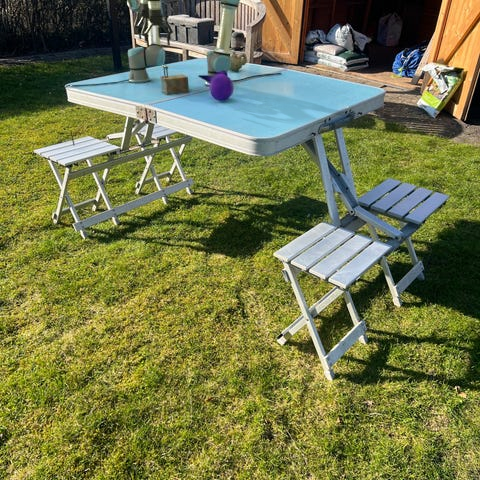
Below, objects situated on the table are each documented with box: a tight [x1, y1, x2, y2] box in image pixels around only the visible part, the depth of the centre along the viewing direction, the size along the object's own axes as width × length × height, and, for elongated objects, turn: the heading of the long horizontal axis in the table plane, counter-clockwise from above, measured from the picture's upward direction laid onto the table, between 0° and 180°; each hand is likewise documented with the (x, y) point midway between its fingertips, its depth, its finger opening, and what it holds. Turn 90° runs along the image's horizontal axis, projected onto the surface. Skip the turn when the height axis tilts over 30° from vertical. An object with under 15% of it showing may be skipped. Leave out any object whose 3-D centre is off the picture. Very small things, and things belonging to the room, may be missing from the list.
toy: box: [198, 70, 235, 102], centre depth 281 cm, size 16×18×27 cm
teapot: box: [228, 51, 248, 73], centre depth 364 cm, size 21×12×15 cm, turn 120°
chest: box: [160, 78, 190, 96], centre depth 303 cm, size 15×11×9 cm
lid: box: [159, 64, 189, 81], centre depth 298 cm, size 16×11×8 cm
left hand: (150, 38), depth 308 cm, fingers open, 13 cm apart
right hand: (158, 46), depth 287 cm, fingers open, 13 cm apart
